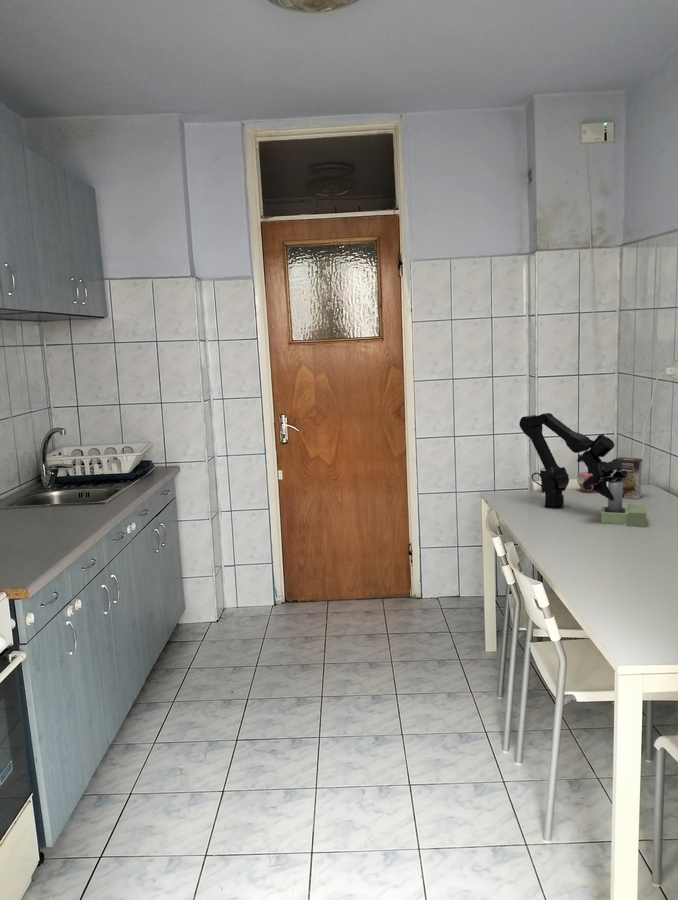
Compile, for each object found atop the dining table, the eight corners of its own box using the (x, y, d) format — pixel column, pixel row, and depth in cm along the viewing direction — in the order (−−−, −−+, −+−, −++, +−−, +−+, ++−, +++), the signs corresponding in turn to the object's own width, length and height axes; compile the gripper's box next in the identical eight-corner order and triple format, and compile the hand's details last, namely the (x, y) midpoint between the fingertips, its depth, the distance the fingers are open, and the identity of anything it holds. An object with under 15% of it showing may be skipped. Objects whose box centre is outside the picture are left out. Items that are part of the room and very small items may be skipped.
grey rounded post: (611, 517, 267) (612, 484, 265) (605, 514, 272) (605, 481, 270) (624, 516, 268) (625, 483, 265) (618, 513, 273) (619, 480, 270)
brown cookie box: (614, 497, 304) (615, 459, 301) (618, 494, 309) (619, 456, 307) (638, 499, 299) (639, 460, 296) (641, 496, 305) (642, 458, 302)
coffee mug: (561, 490, 320) (562, 467, 318) (558, 494, 312) (559, 471, 311) (534, 488, 325) (534, 466, 323) (531, 493, 317) (531, 470, 316)
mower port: (601, 524, 266) (601, 511, 265) (602, 515, 277) (602, 503, 276) (646, 526, 261) (646, 513, 260) (644, 518, 272) (645, 505, 271)
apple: (573, 489, 320) (573, 467, 318) (590, 488, 322) (591, 465, 320) (585, 494, 311) (585, 471, 309) (603, 492, 313) (604, 469, 311)
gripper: (589, 454, 265) (613, 490, 257) (624, 448, 274) (649, 482, 266) (572, 472, 273) (595, 507, 265) (607, 466, 282) (630, 499, 274)
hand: (618, 498), depth 268 cm, fingers closed on grey rounded post, 5 cm apart
